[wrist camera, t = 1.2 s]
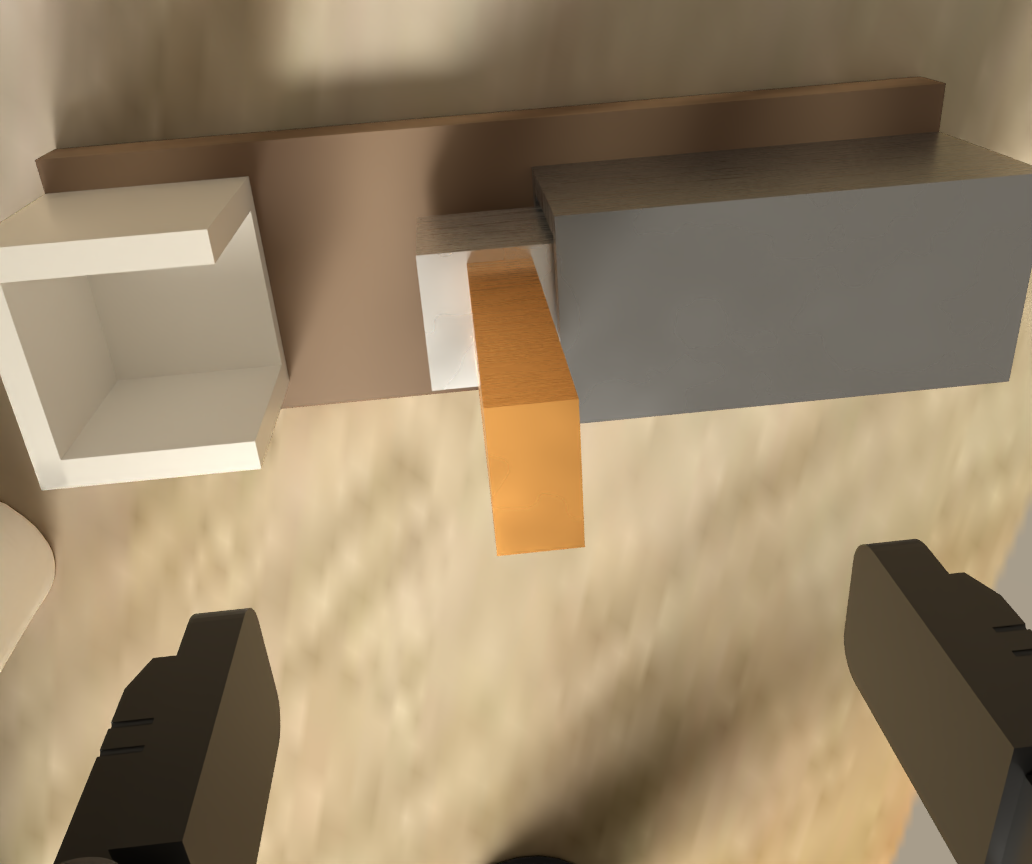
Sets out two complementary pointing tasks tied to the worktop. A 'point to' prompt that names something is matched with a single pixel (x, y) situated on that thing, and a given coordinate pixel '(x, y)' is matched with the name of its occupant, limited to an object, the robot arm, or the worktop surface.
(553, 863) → the black bottle
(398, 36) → the worktop surface
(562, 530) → the slide bolt
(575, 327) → the grey rectangular box
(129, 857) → the robot arm
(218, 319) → the socket
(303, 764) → the worktop surface
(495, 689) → the worktop surface
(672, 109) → the board
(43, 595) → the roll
